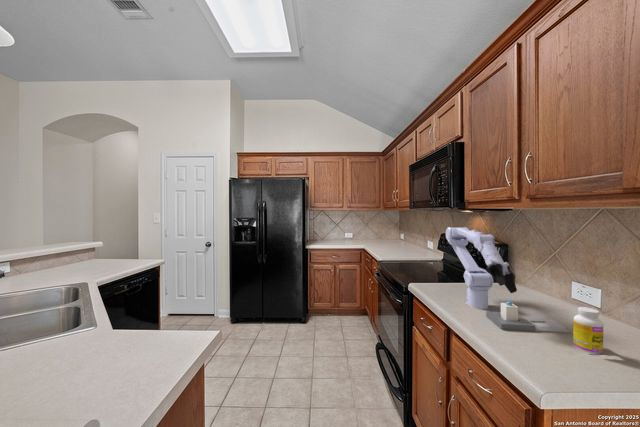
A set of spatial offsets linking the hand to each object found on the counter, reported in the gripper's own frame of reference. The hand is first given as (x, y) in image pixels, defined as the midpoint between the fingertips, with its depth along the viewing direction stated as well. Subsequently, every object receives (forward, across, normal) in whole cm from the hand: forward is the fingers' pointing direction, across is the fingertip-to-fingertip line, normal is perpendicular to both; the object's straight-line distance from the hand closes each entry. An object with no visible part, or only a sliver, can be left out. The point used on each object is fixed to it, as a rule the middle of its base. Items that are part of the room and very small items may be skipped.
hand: (508, 288), depth 101 cm
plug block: (+8, +9, +8) cm, 14 cm away
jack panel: (+9, +14, +5) cm, 17 cm away
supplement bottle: (+21, +12, -8) cm, 26 cm away
